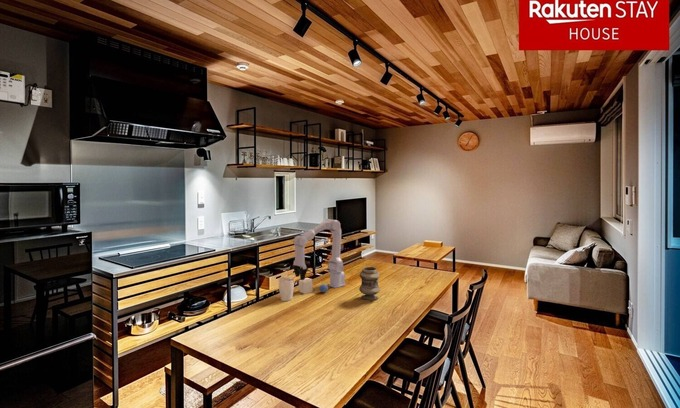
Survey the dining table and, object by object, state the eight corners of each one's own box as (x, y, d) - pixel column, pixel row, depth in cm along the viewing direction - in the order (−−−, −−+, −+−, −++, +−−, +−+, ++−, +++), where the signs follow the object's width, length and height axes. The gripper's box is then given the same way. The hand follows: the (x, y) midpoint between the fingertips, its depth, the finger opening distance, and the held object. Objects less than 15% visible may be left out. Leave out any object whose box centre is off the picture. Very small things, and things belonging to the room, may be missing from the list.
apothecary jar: (355, 299, 203) (356, 269, 201) (364, 293, 213) (364, 264, 212) (375, 303, 197) (375, 272, 196) (382, 296, 208) (383, 267, 206)
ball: (324, 290, 219) (324, 282, 218) (329, 292, 215) (329, 284, 214) (318, 292, 215) (318, 284, 215) (322, 294, 212) (322, 286, 211)
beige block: (307, 289, 220) (306, 278, 220) (312, 291, 216) (312, 280, 215) (298, 291, 217) (298, 280, 216) (304, 293, 212) (304, 282, 211)
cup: (291, 302, 198) (291, 281, 197) (276, 301, 200) (276, 280, 199) (296, 297, 207) (296, 277, 206) (281, 295, 208) (281, 276, 207)
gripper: (289, 254, 214) (289, 276, 215) (298, 259, 201) (298, 282, 202) (299, 253, 217) (299, 274, 219) (309, 257, 205) (309, 280, 206)
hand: (300, 278), depth 211 cm, fingers open, 7 cm apart
